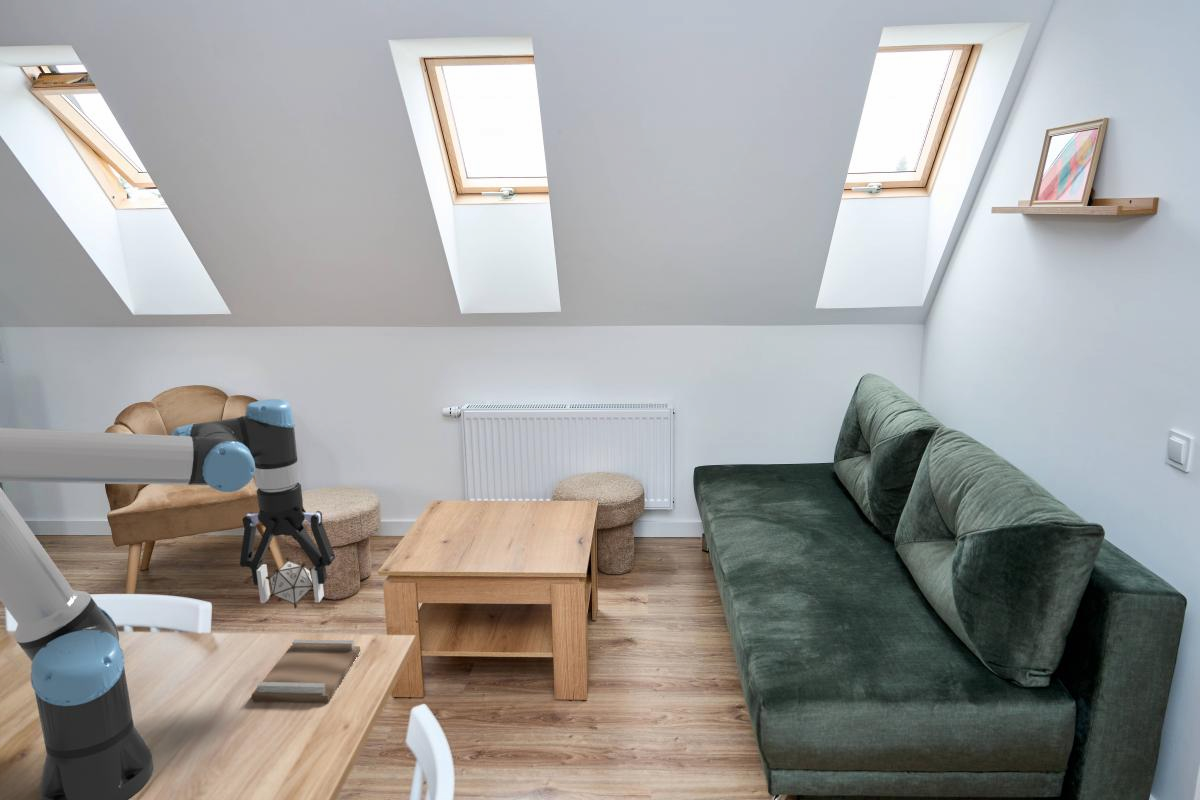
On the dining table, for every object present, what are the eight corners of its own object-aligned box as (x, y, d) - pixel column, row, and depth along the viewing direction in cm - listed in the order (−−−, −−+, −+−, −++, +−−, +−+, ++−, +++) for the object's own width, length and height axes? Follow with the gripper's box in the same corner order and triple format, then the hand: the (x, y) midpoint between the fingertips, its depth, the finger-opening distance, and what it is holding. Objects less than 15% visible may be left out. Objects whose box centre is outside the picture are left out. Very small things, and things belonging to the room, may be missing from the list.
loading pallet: (328, 703, 152) (326, 688, 151) (252, 701, 152) (250, 686, 152) (360, 653, 168) (359, 639, 168) (292, 651, 169) (290, 638, 168)
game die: (307, 618, 158) (334, 579, 156) (268, 621, 151) (296, 580, 149) (287, 583, 163) (313, 545, 161) (248, 585, 156) (275, 545, 154)
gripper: (346, 477, 155) (357, 589, 160) (227, 479, 155) (242, 591, 161) (332, 491, 147) (345, 608, 153) (207, 493, 148) (224, 609, 153)
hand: (292, 599), depth 157 cm, fingers closed on game die, 9 cm apart
